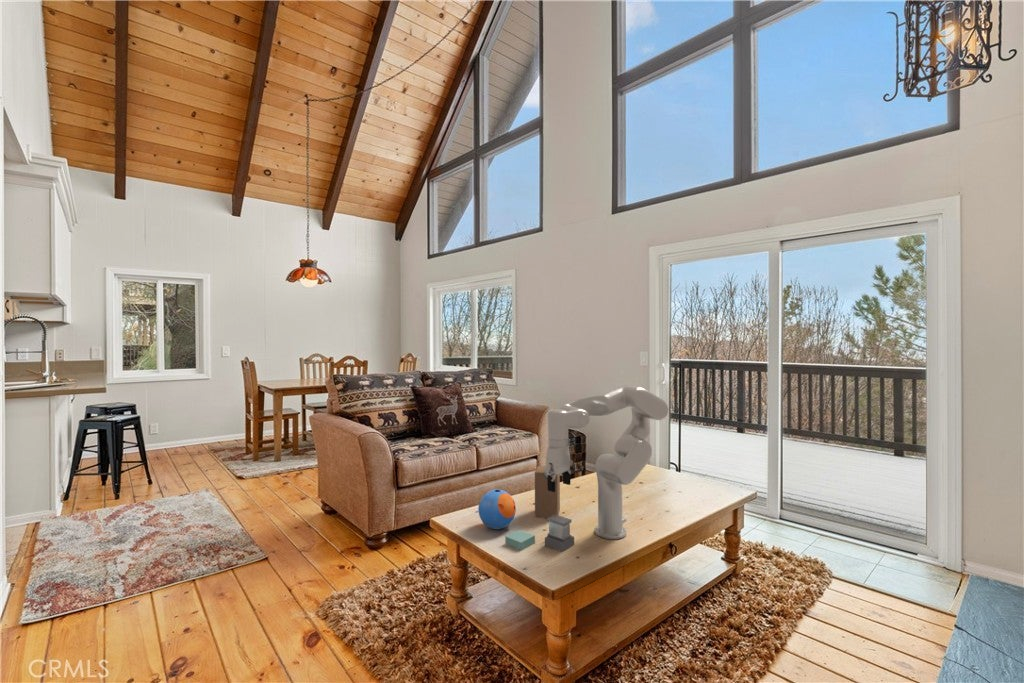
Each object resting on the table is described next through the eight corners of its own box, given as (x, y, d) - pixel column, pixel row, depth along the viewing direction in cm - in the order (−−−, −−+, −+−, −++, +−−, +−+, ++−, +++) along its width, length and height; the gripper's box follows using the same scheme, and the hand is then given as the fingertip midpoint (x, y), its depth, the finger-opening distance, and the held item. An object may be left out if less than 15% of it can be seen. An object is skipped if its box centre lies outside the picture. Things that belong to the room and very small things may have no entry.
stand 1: (519, 537, 185) (519, 529, 185) (534, 543, 180) (534, 535, 180) (505, 544, 179) (505, 536, 179) (521, 550, 174) (521, 542, 174)
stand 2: (557, 538, 184) (557, 530, 184) (574, 544, 179) (574, 536, 179) (544, 545, 178) (544, 537, 178) (561, 551, 173) (561, 543, 173)
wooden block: (557, 519, 203) (557, 473, 202) (534, 517, 205) (534, 472, 204) (559, 510, 213) (559, 466, 212) (538, 508, 215) (537, 465, 214)
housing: (555, 532, 183) (555, 514, 183) (571, 537, 178) (571, 519, 177) (547, 536, 179) (547, 518, 179) (563, 542, 174) (563, 523, 174)
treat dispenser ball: (495, 517, 206) (495, 482, 205) (523, 526, 196) (523, 489, 196) (470, 528, 194) (470, 491, 193) (499, 538, 184) (498, 500, 184)
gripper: (563, 436, 186) (564, 479, 186) (536, 445, 173) (537, 491, 173) (579, 439, 181) (580, 483, 181) (552, 448, 168) (553, 496, 168)
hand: (559, 487), depth 177 cm, fingers open, 9 cm apart
